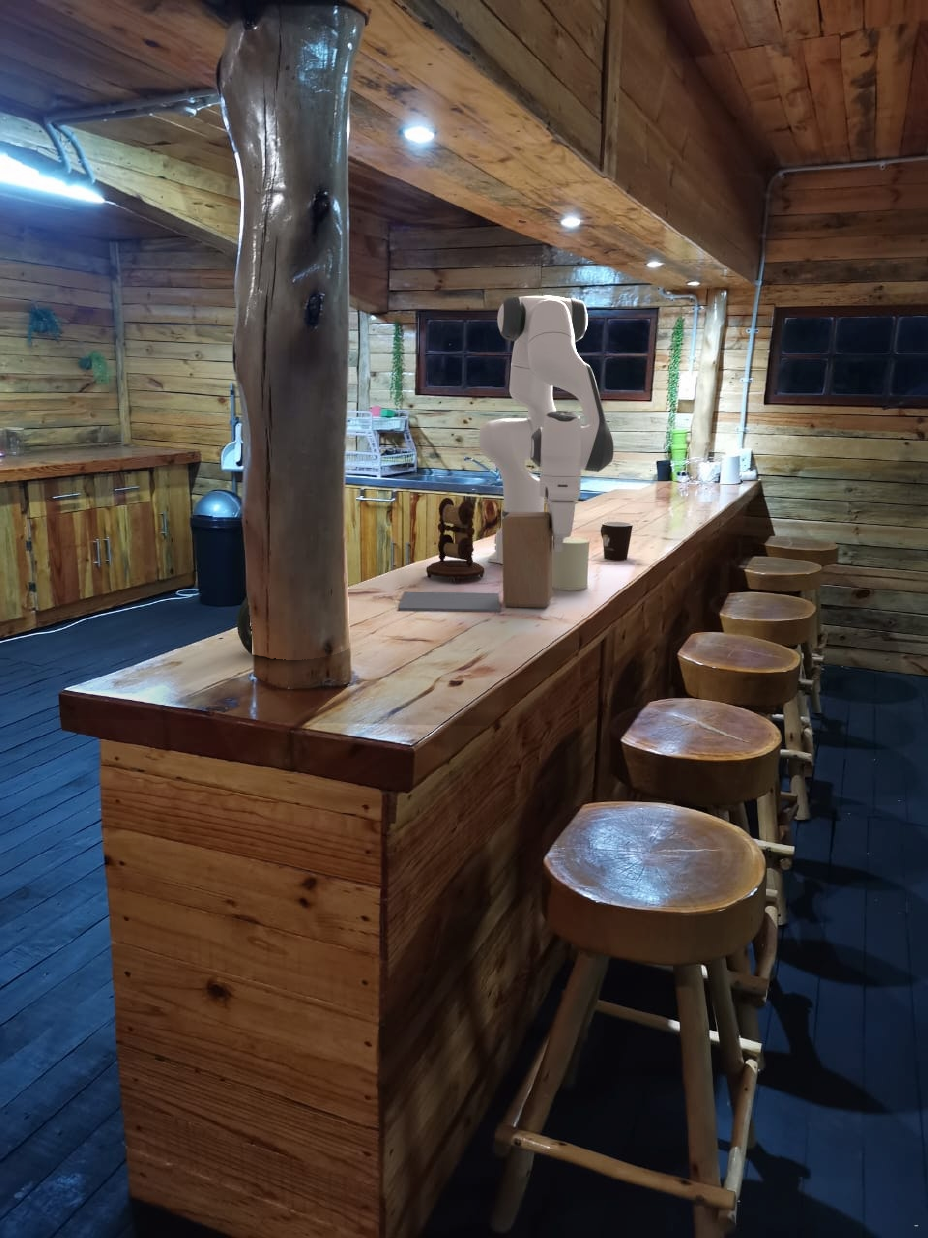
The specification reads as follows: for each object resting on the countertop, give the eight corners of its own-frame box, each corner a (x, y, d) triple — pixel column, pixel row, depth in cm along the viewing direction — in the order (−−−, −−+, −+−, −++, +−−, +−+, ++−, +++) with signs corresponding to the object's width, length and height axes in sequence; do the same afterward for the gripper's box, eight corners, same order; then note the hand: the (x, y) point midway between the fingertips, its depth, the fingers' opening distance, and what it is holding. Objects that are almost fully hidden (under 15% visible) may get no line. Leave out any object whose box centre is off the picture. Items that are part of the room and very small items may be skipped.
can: (566, 580, 225) (568, 533, 222) (595, 586, 219) (597, 538, 216) (542, 586, 219) (543, 537, 216) (571, 592, 213) (573, 542, 210)
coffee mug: (633, 561, 251) (635, 526, 248) (602, 561, 251) (604, 526, 248) (626, 554, 262) (628, 520, 260) (597, 553, 262) (598, 519, 260)
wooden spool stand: (496, 577, 228) (498, 499, 222) (457, 586, 217) (458, 504, 212) (453, 569, 237) (454, 494, 232) (414, 577, 226) (414, 498, 221)
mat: (404, 593, 209) (404, 591, 209) (498, 595, 208) (498, 592, 208) (398, 610, 193) (398, 607, 193) (500, 612, 193) (500, 609, 193)
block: (547, 609, 195) (547, 517, 190) (502, 607, 197) (501, 517, 192) (552, 598, 204) (552, 511, 199) (509, 597, 206) (508, 511, 201)
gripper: (541, 482, 204) (539, 542, 208) (549, 493, 184) (546, 559, 188) (569, 483, 204) (566, 543, 208) (579, 493, 184) (576, 559, 188)
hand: (557, 551), depth 198 cm, fingers closed
